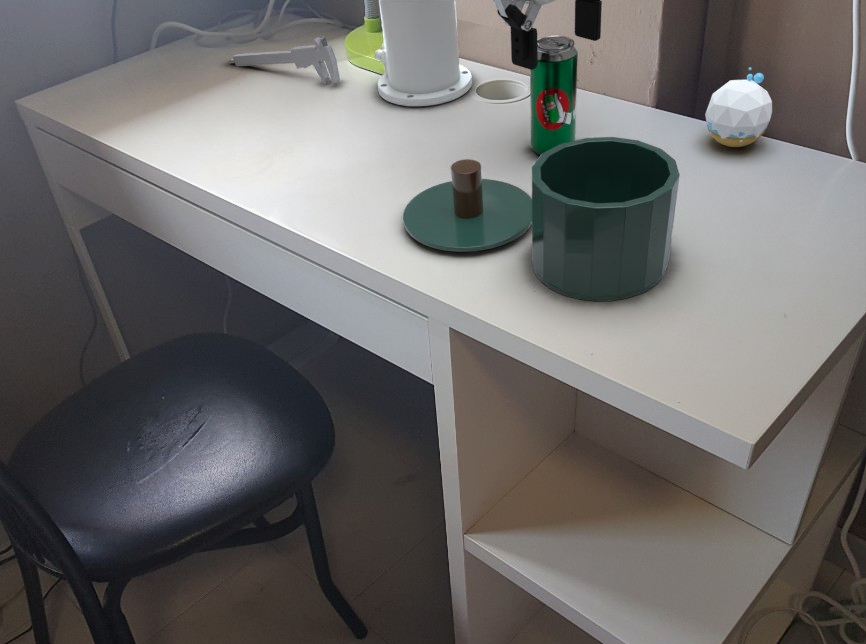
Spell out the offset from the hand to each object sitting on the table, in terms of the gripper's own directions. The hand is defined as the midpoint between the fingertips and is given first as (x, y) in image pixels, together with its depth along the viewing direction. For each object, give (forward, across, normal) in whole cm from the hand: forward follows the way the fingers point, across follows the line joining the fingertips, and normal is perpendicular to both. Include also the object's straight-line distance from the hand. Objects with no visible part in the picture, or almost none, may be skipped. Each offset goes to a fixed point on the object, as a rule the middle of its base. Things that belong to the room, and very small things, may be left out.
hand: (556, 51), depth 89 cm
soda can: (+11, 0, -1) cm, 11 cm away
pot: (+12, +14, +18) cm, 26 cm away
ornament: (+12, -14, +14) cm, 23 cm away
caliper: (+11, +8, -46) cm, 48 cm away
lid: (+11, +17, +4) cm, 20 cm away
